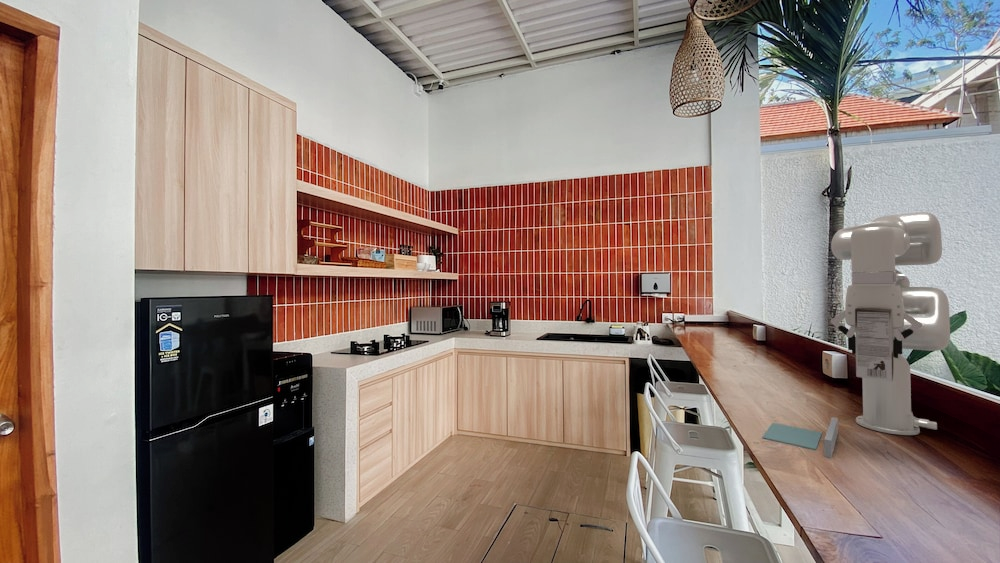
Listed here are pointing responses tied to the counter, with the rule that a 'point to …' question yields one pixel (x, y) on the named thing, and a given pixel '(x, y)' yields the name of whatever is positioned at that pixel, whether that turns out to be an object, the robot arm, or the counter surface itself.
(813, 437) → the mat
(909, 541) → the counter surface
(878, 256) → the robot arm
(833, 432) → the low wall
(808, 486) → the counter surface
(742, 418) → the counter surface
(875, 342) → the coffee box
